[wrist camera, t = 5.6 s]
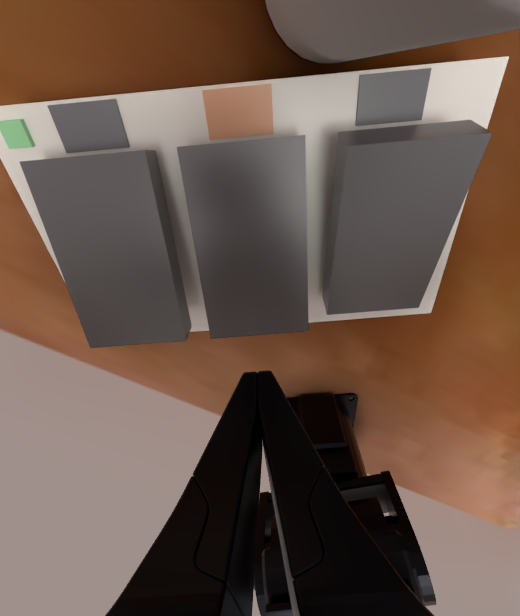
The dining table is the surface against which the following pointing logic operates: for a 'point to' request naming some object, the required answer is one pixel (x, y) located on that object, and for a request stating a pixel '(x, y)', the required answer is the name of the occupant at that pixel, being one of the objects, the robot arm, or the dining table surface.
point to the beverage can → (384, 25)
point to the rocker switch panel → (250, 126)
